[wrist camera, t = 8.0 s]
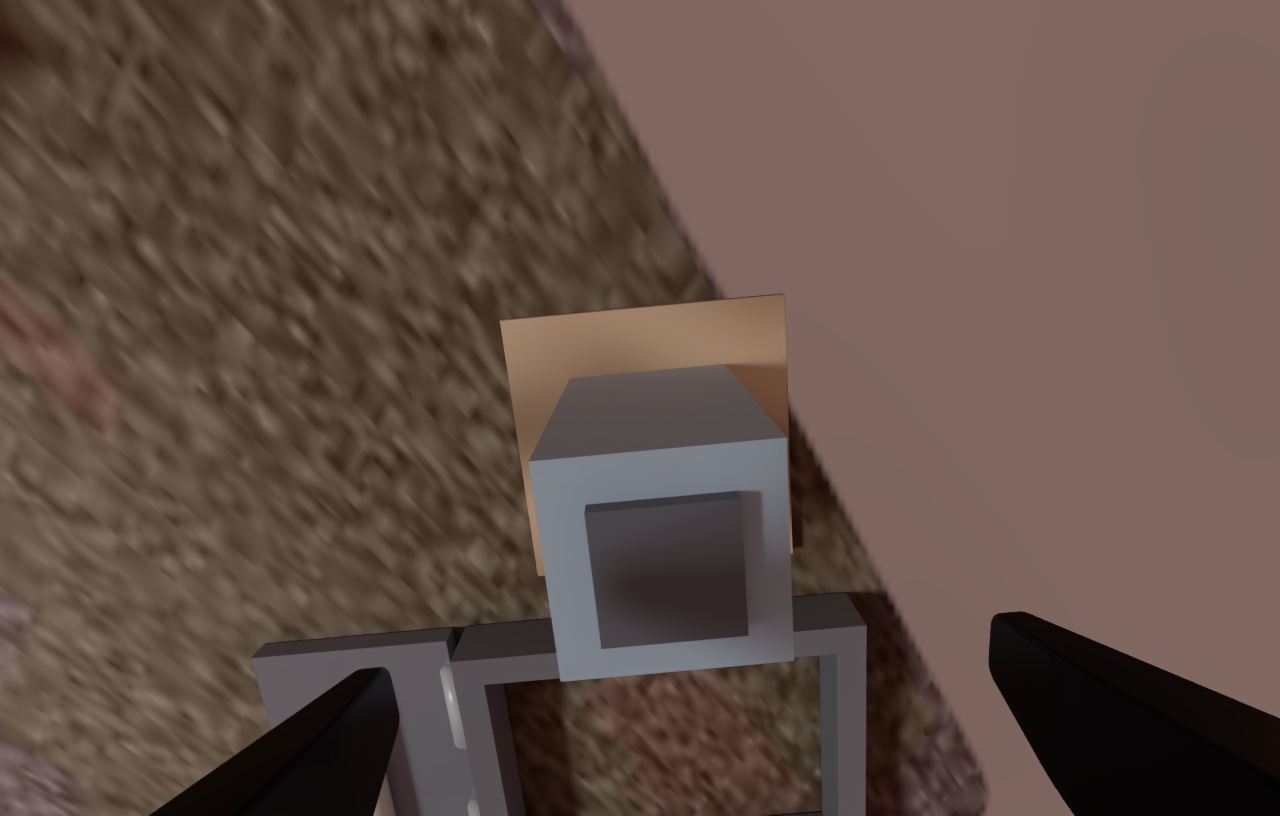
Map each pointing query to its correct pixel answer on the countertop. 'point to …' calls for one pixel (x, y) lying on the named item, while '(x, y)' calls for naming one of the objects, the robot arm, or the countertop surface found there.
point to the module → (664, 525)
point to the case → (525, 651)
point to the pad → (643, 359)
